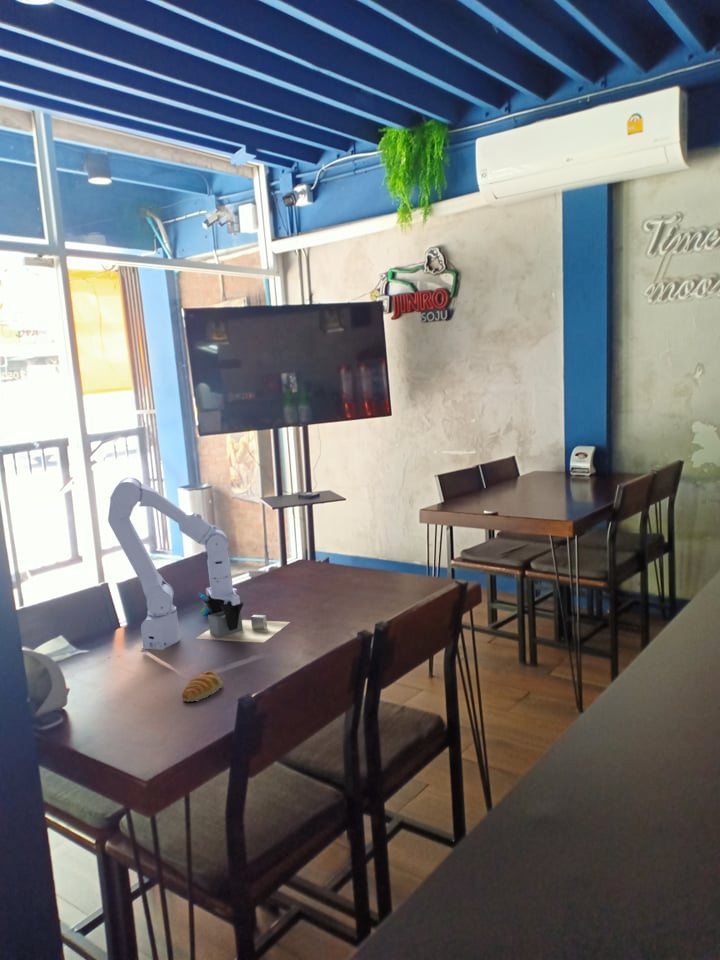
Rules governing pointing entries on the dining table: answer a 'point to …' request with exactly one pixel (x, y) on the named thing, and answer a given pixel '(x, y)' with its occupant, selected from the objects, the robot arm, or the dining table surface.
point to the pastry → (202, 686)
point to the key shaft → (259, 622)
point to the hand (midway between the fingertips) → (226, 626)
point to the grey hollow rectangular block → (222, 625)
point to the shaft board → (249, 632)
